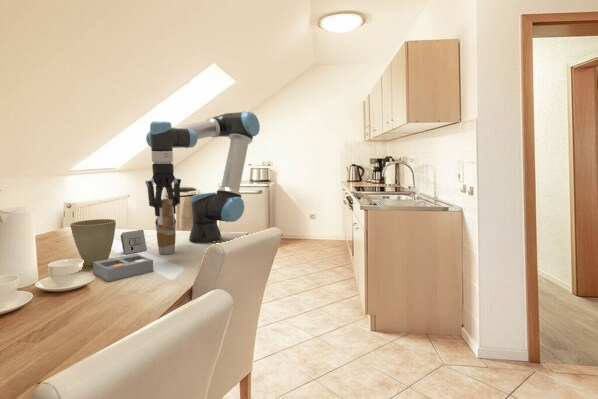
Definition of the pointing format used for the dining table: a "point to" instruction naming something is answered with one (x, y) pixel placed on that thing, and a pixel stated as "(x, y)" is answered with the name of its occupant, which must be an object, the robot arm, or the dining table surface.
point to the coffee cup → (166, 239)
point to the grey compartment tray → (122, 267)
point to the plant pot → (93, 239)
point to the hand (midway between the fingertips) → (166, 223)
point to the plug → (167, 215)
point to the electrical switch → (133, 241)
